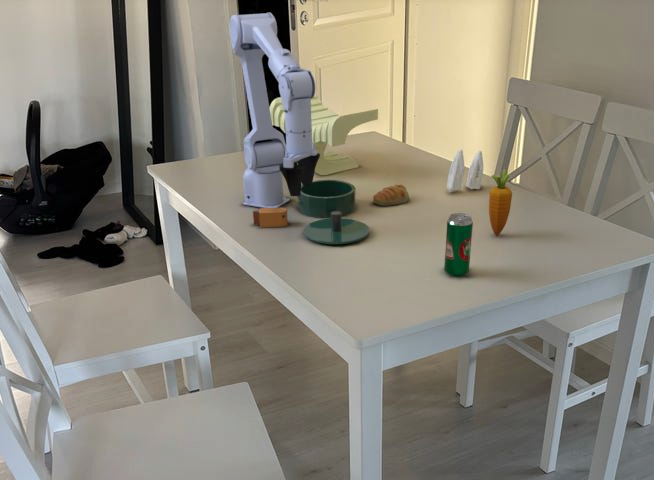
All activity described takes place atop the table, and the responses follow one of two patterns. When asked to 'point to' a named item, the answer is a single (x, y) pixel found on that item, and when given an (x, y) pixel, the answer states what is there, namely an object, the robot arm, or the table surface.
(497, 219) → the carrot
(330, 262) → the table surface
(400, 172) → the table surface
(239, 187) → the table surface
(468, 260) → the soda can
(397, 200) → the pastry
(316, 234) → the pot lid
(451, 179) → the shaker set
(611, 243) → the table surface
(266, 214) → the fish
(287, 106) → the robot arm
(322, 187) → the pot
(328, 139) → the slatted curved stool
